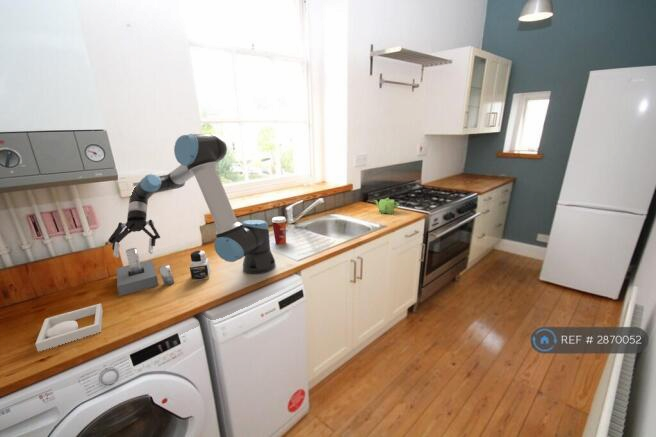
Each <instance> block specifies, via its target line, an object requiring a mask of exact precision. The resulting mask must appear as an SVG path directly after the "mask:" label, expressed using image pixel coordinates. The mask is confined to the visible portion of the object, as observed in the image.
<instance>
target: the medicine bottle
mask: <svg viewBox="0 0 656 437" xmlns="http://www.w3.org/2000/svg"><path fill="white" fill-rule="evenodd" d="M189 255H190V260H191V262H190V264H189V265H190V266H189V271H190V278H191V281H192V282H196V281H203V280H210V276H211V265H210V259H209V258H208V257H207V256H206V252H205V251H204V250H196V251H193V252H191V253H190V254H189Z"/></svg>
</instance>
